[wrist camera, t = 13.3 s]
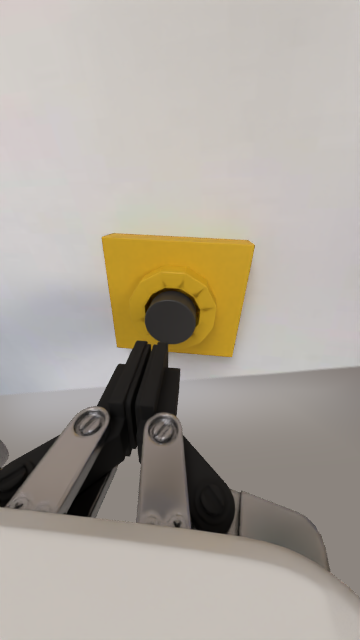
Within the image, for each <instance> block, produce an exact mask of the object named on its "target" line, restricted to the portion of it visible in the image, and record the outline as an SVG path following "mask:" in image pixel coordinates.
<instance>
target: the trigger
mask: <svg viewBox="0 0 360 640" xmlns="http://www.w3.org/2000/svg"><path fill="white" fill-rule="evenodd" d="M145 326H146V329H147V331H148V332H149V334H150V335H151V336H152V337H153V338H154V339H156V340H157V341H159V342H166V343H168V344H179V343H182V342H184V341H186V340H187V339H188V338H190V337H191V335H192V334H193V332H194V330H195V326H196V308H195V305H194V303H193V302H192V300H191V299H190V298H189V297H188V296H186V295H185V294H183V293H180V292H177V291H166V292H162V293H160V294H158V295H157V296H156V297H155V298H154V299H153V300H152V302H151V304H150V306H149V308H148V310H147V312H146V314H145Z"/></svg>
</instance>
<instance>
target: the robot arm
mask: <svg viewBox="0 0 360 640" xmlns="http://www.w3.org/2000/svg"><path fill="white" fill-rule="evenodd" d="M179 382H180V369H179V368H168V343H166V342H158V343H157V345H156V344H154V345H153V348H152V351H151V344H148V342H147V341H138V340H137V341H136V343H135V345H134V347H133V349H132V351H131V353H130V356H129V358H128V360H127V362H126V364H118V366H117V367H116V369H115V371H114V373H113V375H112V377H111V379H110V381H109V383H108V385H107V387H106V389H105V391H104V393H103V395H102V397H101V399H100V401H99V403H98V405H97V406H93V407H88V408H86V409H83V410H82V411H80V412H79V413H77V414H76V415H75V417H74V418H73V419H72V420H71V421H70V423H69V424H68V425H67V427H66V428H65V429H64V431H63V432H62V433H61V434H60V435H59V436H57V437H55V438H53V439H51V440H50V441H48V442H46V443H44V444H42V445H41V446H39V447H37V448H35V449H34V450H32V451H30V452H28V453H26V454H25V455H23V456H21V457H19V458H18V459H16V460H14V461H12V462H11V463H9V464H8V465H6V466H5V467H0V640H360V597H359V596H358V595H357V594H355V592H354V591H353V590H351V589H350V588H349V587H348V586H347V585H346V584H344V583H343V582H342V581H341V580H340V579H338V578H337V577H336V576H335V575H333V574H332V573H330V568H329V563H328V558H327V553H326V548H325V545H324V542H323V539H322V536H321V534H320V533H319V532H318V530H317V528H316V526H315V525H314V524H313V523H312V522H311V521H310V520H309V519H308V518H307V517H306V516H304V515H302V514H300V513H299V512H296V511H294V510H291V509H288V508H286V507H283V506H280V505H278V504H275V503H273V502H270V501H268V500H265V499H262V498H260V497H257V496H255V495H252V494H249V493H247V492H244V491H241V493H240V492H237V491H234V490H232V489H229V487H228V486H227V484H226V483H224V481H223V480H222V479H221V478H220V476H218V474H217V473H216V472H215V471H214V470H213V468H212V467H211V466H210V465H209V464H208V463H207V462H206V461H205V460H204V458H203V457H202V456H201V455H200V454H199V453H198V452H197V450H196V449H195V448H194V447H193V446H192V445H191V444H190V442H189V441H188V440H187V439H186V438H185V437H184V436H183V434H182V426H181V423H180V421H179V419H178V418H177V417H176V415H177V405H178V394H179ZM137 446H138V455H139V462H140V464H141V470H140V482H139V494H138V495H139V496H138V506H137V518H136V523H133V522H125V521H116V520H108V519H99V518H96V516H97V513H98V511H99V509H100V507H101V504H102V502H103V500H104V498H105V495H106V493H107V491H108V489H109V487H110V484H111V482H112V480H113V478H114V475H115V473H116V471H117V467H118V464H120V463H121V462H122V461H123V460H124V459H125V456H130V454H131V451H132V449H136V447H137Z"/></svg>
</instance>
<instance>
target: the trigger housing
mask: <svg viewBox="0 0 360 640" xmlns="http://www.w3.org/2000/svg"><path fill="white" fill-rule="evenodd" d="M102 244H103V251H104V258H105V265H106V272H107V279H108V286H109V293H110V300H111V307H112V314H113V322H114V329H115V336H116V343H117V347H119V348H131V349H133V347H134V345H135V343H136V341H137V340H138V341H147V342H148V344H151V350H152V348H153V345H154V344H156V345H157V343H158V342H159V341H157V340H156V339H154V338H153V337H152V336H151V335H150V334H149V332H148V331H147V329H146V326H145V314H146V312H147V310H148V308H149V306H150V304H151V302H152V300H153V299H154V298H155V297H156V296H157V295H158V294H160V293H162V292H166V291H177V292H180V293H183V294H185V295H186V296H188V297H189V298H190V299H191V300H192V302H193V303H194V305H195V308H196V326H195V330H194V332H193V334H192V335H191V337H190V338H188V339H187V340H186V341H184V342H182V343H179V344H168V352H177V353H189V354H201V355H213V356H224V357H232V355H233V350H234V345H235V340H236V335H237V330H238V325H239V321H240V316H241V311H242V306H243V301H244V296H245V291H246V287H247V282H248V277H249V272H250V267H251V262H252V257H253V252H254V248H255V245H254V244H253V243H251V242H250V241H249V240H233V239H213V238H194V237H174V236H155V235H136V234H116V233H113V234H109V235H106V236H103V237H102Z"/></svg>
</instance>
